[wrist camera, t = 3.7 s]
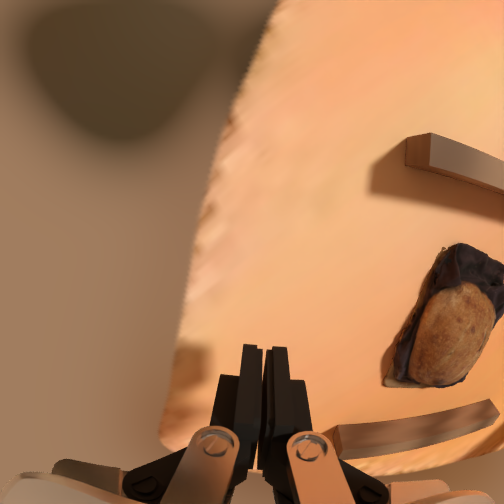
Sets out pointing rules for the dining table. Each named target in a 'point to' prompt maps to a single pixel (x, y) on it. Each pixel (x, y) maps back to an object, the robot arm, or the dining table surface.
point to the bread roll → (449, 320)
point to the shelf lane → (456, 420)
